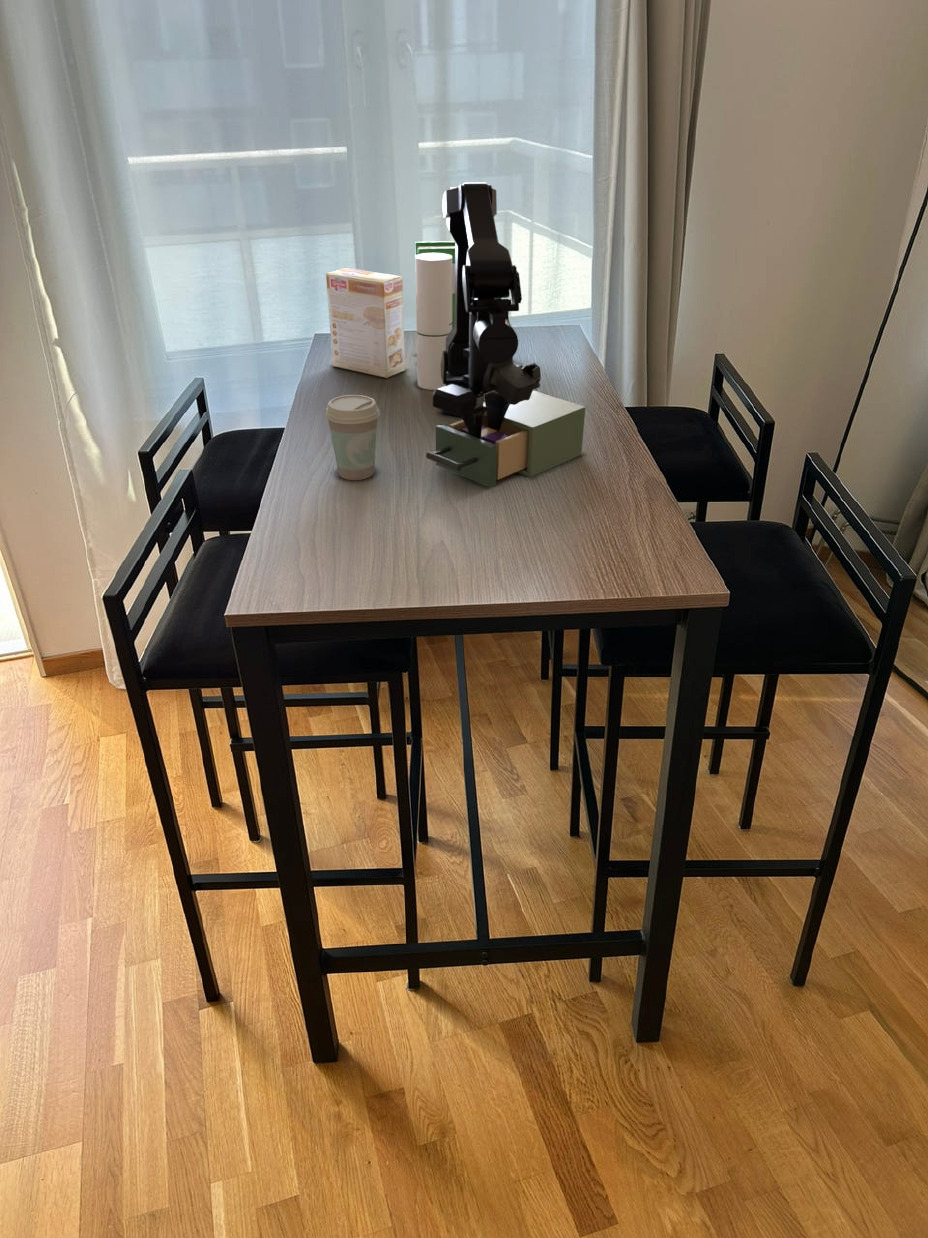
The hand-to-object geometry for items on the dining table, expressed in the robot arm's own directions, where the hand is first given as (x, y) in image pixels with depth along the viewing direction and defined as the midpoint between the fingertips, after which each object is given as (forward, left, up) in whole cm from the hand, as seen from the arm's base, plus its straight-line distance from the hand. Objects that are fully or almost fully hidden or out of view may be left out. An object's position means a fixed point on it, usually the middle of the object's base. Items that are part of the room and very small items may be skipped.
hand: (485, 440), depth 144 cm
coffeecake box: (-44, +40, -6) cm, 60 cm away
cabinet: (+4, +10, -6) cm, 12 cm away
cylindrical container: (-27, +36, -6) cm, 46 cm away
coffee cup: (-19, -10, -6) cm, 22 cm away
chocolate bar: (0, 0, -1) cm, 1 cm away
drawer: (0, -1, -5) cm, 5 cm away
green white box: (-30, +54, -6) cm, 62 cm away
